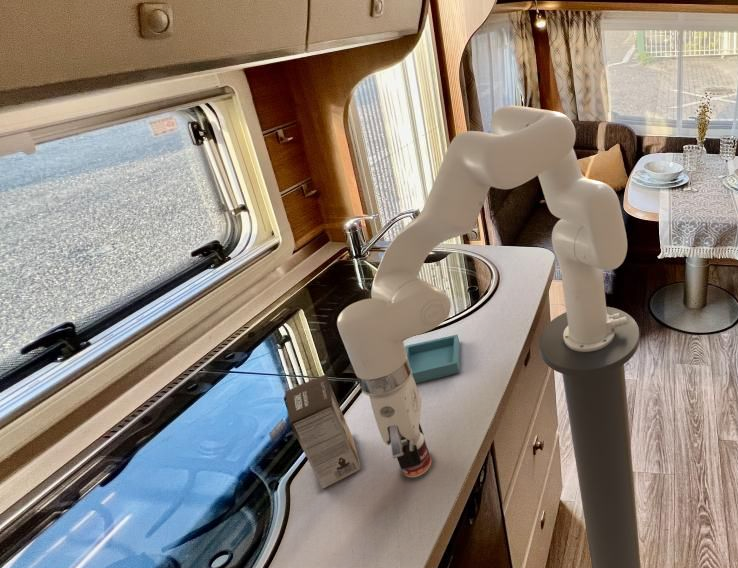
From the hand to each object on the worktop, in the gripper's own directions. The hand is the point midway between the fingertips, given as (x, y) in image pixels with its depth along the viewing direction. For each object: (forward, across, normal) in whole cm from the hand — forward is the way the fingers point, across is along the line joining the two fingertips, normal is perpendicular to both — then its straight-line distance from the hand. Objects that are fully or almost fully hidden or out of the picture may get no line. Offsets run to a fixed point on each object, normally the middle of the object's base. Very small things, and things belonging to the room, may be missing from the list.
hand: (412, 451), depth 87 cm
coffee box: (+4, +6, +14) cm, 16 cm away
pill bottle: (+4, 0, 0) cm, 4 cm away
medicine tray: (+4, +28, -1) cm, 28 cm away
